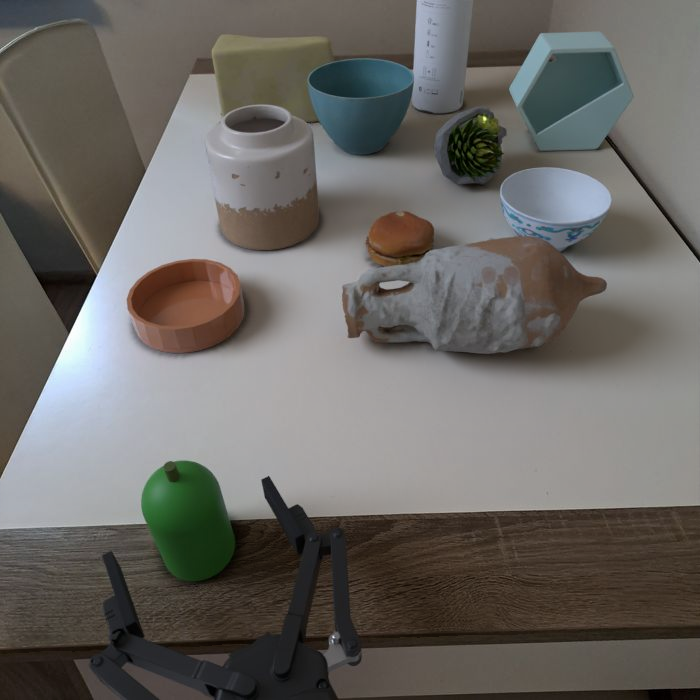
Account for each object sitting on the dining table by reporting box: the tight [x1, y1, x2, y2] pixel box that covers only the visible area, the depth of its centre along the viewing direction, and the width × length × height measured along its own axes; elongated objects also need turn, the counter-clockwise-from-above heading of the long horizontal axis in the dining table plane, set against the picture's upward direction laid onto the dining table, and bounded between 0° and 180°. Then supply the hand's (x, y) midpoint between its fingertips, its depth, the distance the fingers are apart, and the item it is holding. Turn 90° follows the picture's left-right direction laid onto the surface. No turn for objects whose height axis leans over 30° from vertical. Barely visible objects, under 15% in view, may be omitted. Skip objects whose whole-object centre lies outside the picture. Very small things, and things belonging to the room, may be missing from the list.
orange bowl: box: [126, 258, 246, 354], centre depth 83 cm, size 14×14×4 cm
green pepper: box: [140, 459, 236, 582], centre depth 56 cm, size 7×7×13 cm
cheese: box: [211, 33, 335, 123], centre depth 122 cm, size 22×10×15 cm, turn 87°
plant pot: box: [308, 57, 414, 155], centre depth 114 cm, size 18×18×12 cm
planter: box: [508, 30, 635, 152], centre depth 111 cm, size 17×8×21 cm
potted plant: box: [433, 106, 508, 186], centre depth 104 cm, size 12×13×15 cm
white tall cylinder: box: [411, 0, 474, 115], centre depth 121 cm, size 11×10×26 cm
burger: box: [365, 210, 435, 267], centre depth 92 cm, size 10×9×5 cm
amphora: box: [341, 236, 608, 354], centre depth 76 cm, size 14×16×30 cm
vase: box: [204, 104, 320, 251], centre depth 94 cm, size 15×15×17 cm
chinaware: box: [499, 166, 613, 253], centre depth 92 cm, size 15×15×8 cm
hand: (192, 522), depth 54 cm, fingers open, 13 cm apart
